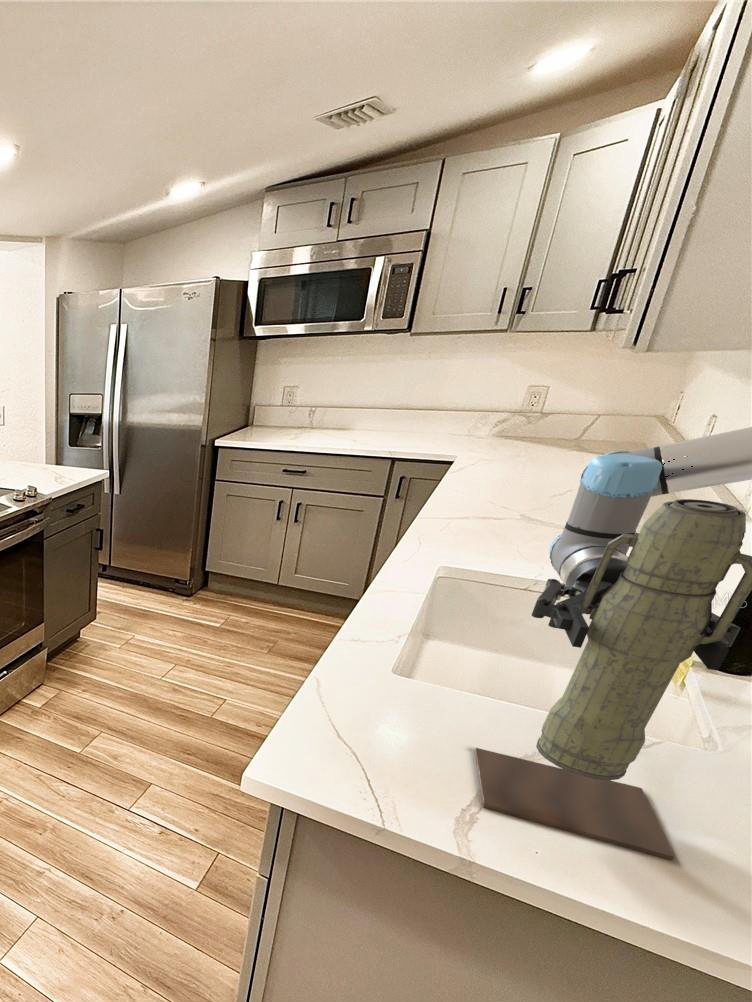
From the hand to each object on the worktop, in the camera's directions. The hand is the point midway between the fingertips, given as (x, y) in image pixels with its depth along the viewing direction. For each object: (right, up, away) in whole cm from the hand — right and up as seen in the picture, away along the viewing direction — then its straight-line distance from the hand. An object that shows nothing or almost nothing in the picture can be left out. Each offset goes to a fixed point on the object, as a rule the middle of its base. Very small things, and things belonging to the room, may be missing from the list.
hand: (646, 647), depth 71 cm
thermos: (+3, -16, +11) cm, 20 cm away
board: (+4, -22, +14) cm, 26 cm away
